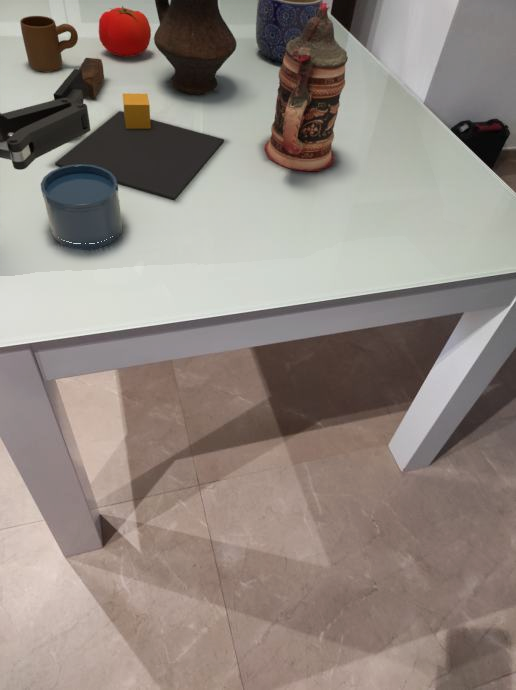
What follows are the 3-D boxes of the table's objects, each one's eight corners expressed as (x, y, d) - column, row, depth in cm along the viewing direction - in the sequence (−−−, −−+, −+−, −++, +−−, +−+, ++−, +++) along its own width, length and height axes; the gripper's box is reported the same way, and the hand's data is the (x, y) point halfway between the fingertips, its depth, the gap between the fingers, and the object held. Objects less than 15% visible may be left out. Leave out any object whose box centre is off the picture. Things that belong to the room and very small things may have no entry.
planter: (321, 54, 144) (332, -7, 133) (299, 73, 134) (309, 8, 122) (268, 39, 147) (274, -22, 136) (242, 57, 137) (247, -8, 126)
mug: (83, 61, 125) (76, 17, 118) (81, 74, 120) (75, 29, 113) (31, 58, 123) (21, 14, 116) (27, 72, 118) (17, 26, 111)
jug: (249, 86, 125) (262, -68, 103) (202, 110, 115) (205, -56, 92) (182, 60, 132) (181, -91, 109) (131, 80, 121) (118, -82, 98)
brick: (87, 78, 119) (84, 56, 116) (105, 79, 120) (102, 58, 116) (76, 98, 112) (73, 76, 109) (95, 100, 113) (92, 78, 109)
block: (126, 129, 105) (123, 104, 101) (124, 117, 108) (122, 93, 104) (150, 128, 106) (149, 104, 102) (148, 117, 109) (147, 93, 105)
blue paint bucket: (38, 237, 81) (25, 192, 75) (75, 201, 88) (66, 157, 82) (101, 257, 79) (93, 212, 73) (134, 218, 86) (129, 175, 80)
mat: (55, 165, 95) (54, 162, 94) (119, 113, 110) (119, 110, 110) (174, 200, 91) (174, 197, 91) (223, 141, 107) (223, 139, 106)
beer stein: (303, 141, 115) (235, 150, 106) (328, -8, 97) (249, -12, 88) (352, 170, 105) (282, 183, 96) (391, 10, 87) (309, 7, 78)
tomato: (99, 45, 132) (93, -1, 125) (148, 45, 136) (146, 1, 128) (103, 63, 126) (97, 15, 118) (155, 62, 129) (153, 17, 121)
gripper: (-213, 195, 44) (-84, 92, 58) (75, 234, 45) (134, 123, 59) (-271, 108, 39) (-113, 17, 53) (58, 155, 39) (128, 52, 53)
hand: (18, 73), depth 56 cm, fingers open, 13 cm apart
